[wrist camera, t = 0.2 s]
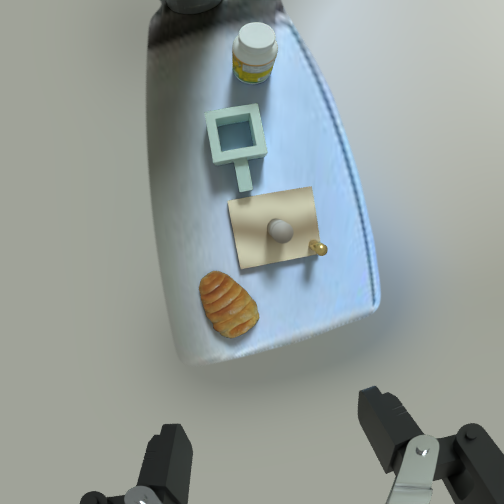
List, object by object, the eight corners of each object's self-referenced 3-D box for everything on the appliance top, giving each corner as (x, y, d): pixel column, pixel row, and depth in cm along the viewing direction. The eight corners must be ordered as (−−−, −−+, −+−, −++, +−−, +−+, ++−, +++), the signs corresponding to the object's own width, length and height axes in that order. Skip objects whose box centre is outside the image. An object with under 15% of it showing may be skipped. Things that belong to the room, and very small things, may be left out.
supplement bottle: (269, 87, 33) (279, 57, 24) (229, 83, 33) (228, 51, 24) (273, 56, 32) (283, 21, 23) (235, 51, 32) (236, 15, 23)
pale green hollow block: (207, 120, 34) (204, 112, 30) (255, 112, 34) (257, 103, 30) (221, 195, 36) (219, 195, 32) (269, 186, 36) (273, 186, 32)
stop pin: (307, 240, 37) (315, 245, 33) (317, 238, 37) (326, 243, 33) (309, 250, 37) (317, 256, 33) (319, 248, 37) (328, 254, 33)
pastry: (187, 284, 38) (183, 293, 35) (228, 259, 38) (228, 266, 34) (224, 335, 40) (224, 348, 37) (263, 313, 40) (267, 324, 36)
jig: (227, 200, 36) (226, 202, 30) (309, 186, 37) (323, 185, 30) (240, 267, 38) (241, 280, 32) (319, 251, 38) (333, 262, 32)
